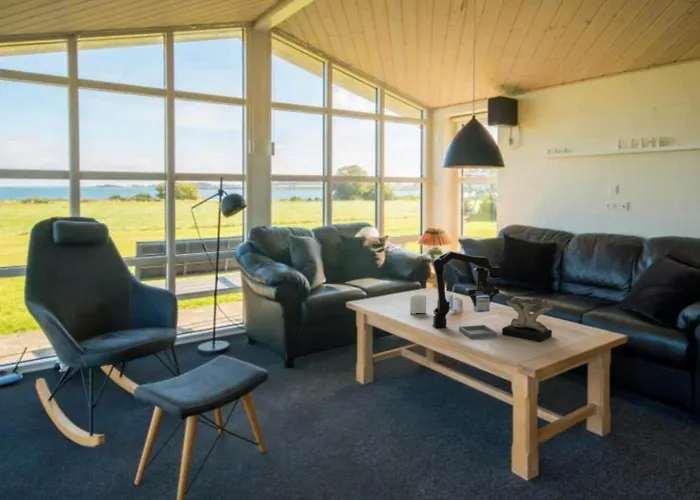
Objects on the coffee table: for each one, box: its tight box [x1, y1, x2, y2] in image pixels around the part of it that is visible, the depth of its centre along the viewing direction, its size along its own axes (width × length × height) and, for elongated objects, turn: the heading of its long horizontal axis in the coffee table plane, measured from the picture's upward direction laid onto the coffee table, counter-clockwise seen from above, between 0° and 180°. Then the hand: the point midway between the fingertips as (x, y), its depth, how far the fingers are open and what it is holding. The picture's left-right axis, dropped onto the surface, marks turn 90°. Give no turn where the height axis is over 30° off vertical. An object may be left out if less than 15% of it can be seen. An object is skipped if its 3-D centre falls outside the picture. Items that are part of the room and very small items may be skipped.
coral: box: [501, 297, 554, 343], centre depth 268 cm, size 25×20×22 cm
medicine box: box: [473, 294, 491, 313], centre depth 290 cm, size 8×4×9 cm, turn 105°
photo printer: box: [409, 293, 427, 315], centre depth 322 cm, size 10×4×12 cm, turn 98°
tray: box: [458, 324, 498, 340], centre depth 278 cm, size 15×15×2 cm
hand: (481, 305), depth 291 cm, fingers closed on medicine box, 8 cm apart
